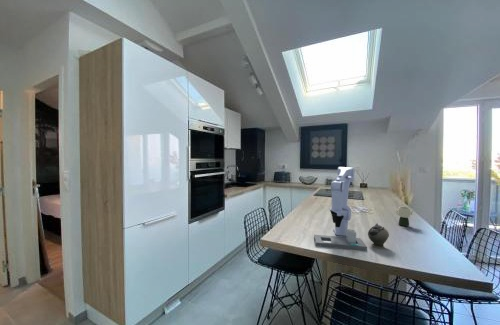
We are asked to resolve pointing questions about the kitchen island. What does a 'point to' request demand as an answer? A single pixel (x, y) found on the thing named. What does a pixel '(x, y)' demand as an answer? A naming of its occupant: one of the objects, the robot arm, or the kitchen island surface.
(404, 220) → the character mug
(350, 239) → the plug block
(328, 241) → the grey mounting plate
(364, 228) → the kitchen island surface
